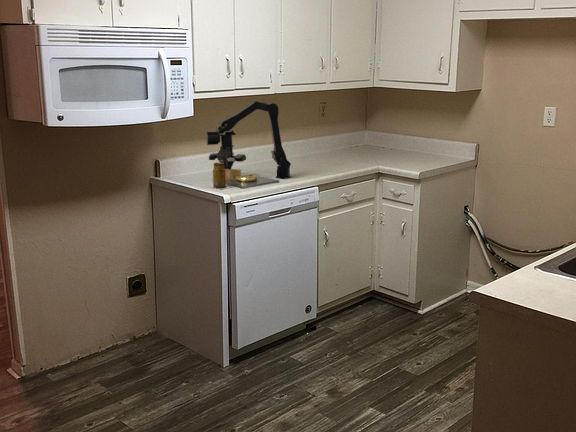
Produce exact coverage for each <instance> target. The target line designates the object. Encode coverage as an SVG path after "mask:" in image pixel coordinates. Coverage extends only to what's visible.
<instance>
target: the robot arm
mask: <svg viewBox="0 0 576 432" xmlns="http://www.w3.org/2000/svg"><path fill="white" fill-rule="evenodd" d="M257 110H260V111H264V112H265V114H266V116H267V118H268V120H269V124H270V131H271V137H272V143H273V150H270V153H271V156H272V157H271V159H272V160H273V161H274V162H275V163H276V165H277V166H276V167H277V168H276V175H275V178H276V179H282V180H285V179H291V178H292V176H291V173H290V172H291V170H290V168H291V164H292V163H291V162H290V161H289V160H288V159H287V155H286V153H285V150H284V148H283V145H282V139H281V133H280V125H279V121H278V120H279V106H278V104H276V103H273V102H267V103H265V102H260V101H257V100H254V101H252V102H251V103H250V104H248V105H246V106H245V107H244V108H242V109H241V110H239V111H237V112H236V113H235V114H232V115H230V116H227V117H225V118H223V119H221V120H220V121H219V126H218V128H217V129H216V130H215V131H206V137H205V141H206V145H207V146H213V145H215V146H216V145H217V146H218V145H219V144H220V143H221V145H220V147H219V148H220V149H219V150H218V151H217V152H212V153H210V154H209V155H208V160H209V161H215V160H216V159H217V161H218V162H221V163H224V166H225V167H224V168H225V169H233V168H232V167H233V165H234V163H235V162H240V163H242V162H244V161H246V160H247V156H246V154H243V153H239V154H236V155H235V153H234V152H233V151H234V150H233V149H234V145H233V136H236V135H237V134H236V132H234V130H233V128H234V127H236V125H237V124H238V123H239V122H240V121H242V120H243V119H244V118H246V117H247V116H248V115H251V114H252V113H254V112H255V111H257Z"/></svg>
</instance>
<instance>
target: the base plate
mask: <svg viewBox="0 0 576 432" xmlns="http://www.w3.org/2000/svg"><path fill="white" fill-rule="evenodd" d="M249 174H250V173H246V174H245V175H249ZM255 175H256V174H255ZM256 176H257V180H255V181H237V180H236V179H225V182H226V185H225V186H229V187H235V188H237V189H249V188H255V187H259V186H260V187H261V186H265V185H271V184H277V183H280V180H279V179H275V178H270V177H266V176H261V175H256Z"/></svg>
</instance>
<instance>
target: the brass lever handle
mask: <svg viewBox="0 0 576 432" xmlns="http://www.w3.org/2000/svg"><path fill="white" fill-rule="evenodd" d="M248 174H249V175H246V174H242V169H240V168H239V169H238V168H231V169H225V179H236V180H237V181H255V180H257V176H258V175H257V176H256V174H254V173H248Z"/></svg>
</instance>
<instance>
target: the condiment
mask: <svg viewBox="0 0 576 432" xmlns="http://www.w3.org/2000/svg"><path fill="white" fill-rule="evenodd" d="M224 167H225V166H224V163H221V162H219V161H218V162H214V163H213V170H212V184H213V185H212V186H211V185H210V186H209V188H214V189H219V190H225V189H229V188H231V186H230V185H226V182H225V168H224Z"/></svg>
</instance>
